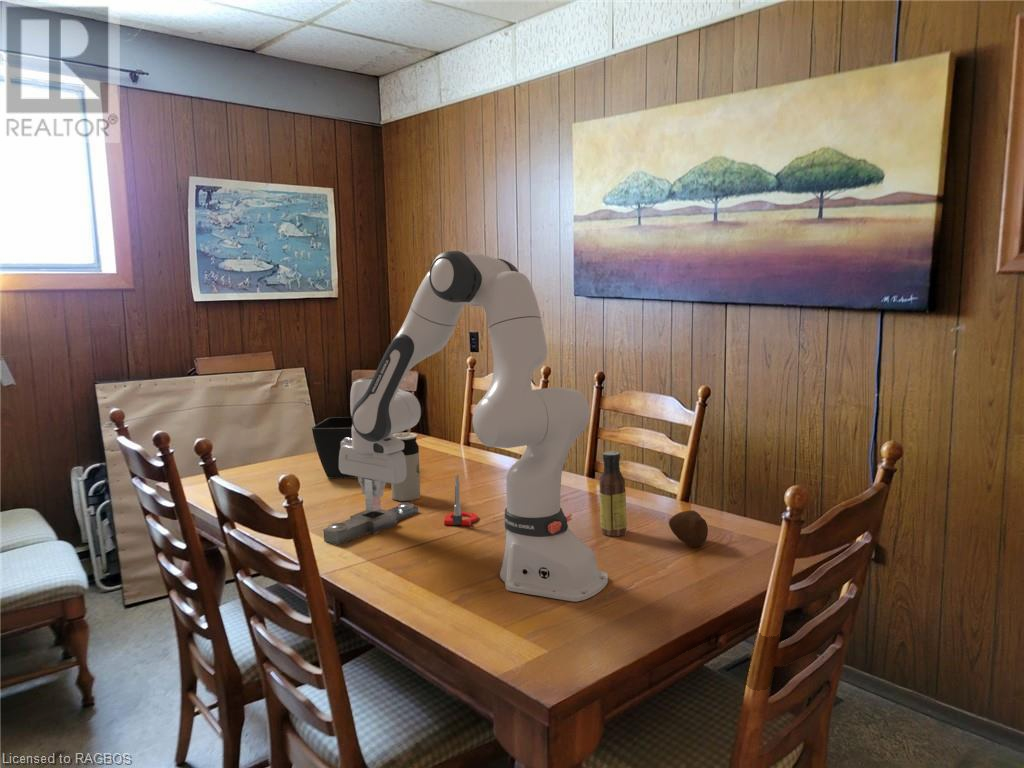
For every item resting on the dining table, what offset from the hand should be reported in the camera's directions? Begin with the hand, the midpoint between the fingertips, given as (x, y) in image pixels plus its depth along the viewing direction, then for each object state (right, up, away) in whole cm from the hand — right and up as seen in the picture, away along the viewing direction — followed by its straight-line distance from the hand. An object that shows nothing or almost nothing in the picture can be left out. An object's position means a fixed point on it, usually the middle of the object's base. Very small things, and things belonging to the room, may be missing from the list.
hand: (372, 495), depth 180 cm
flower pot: (-16, -1, +50) cm, 53 cm away
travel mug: (+5, -5, +24) cm, 25 cm away
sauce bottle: (+59, -8, -6) cm, 60 cm away
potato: (+76, -9, -13) cm, 78 cm away
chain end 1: (-3, -9, -3) cm, 9 cm away
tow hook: (+22, -7, +5) cm, 23 cm away
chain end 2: (+3, -7, +5) cm, 9 cm away
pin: (0, -4, +1) cm, 4 cm away
